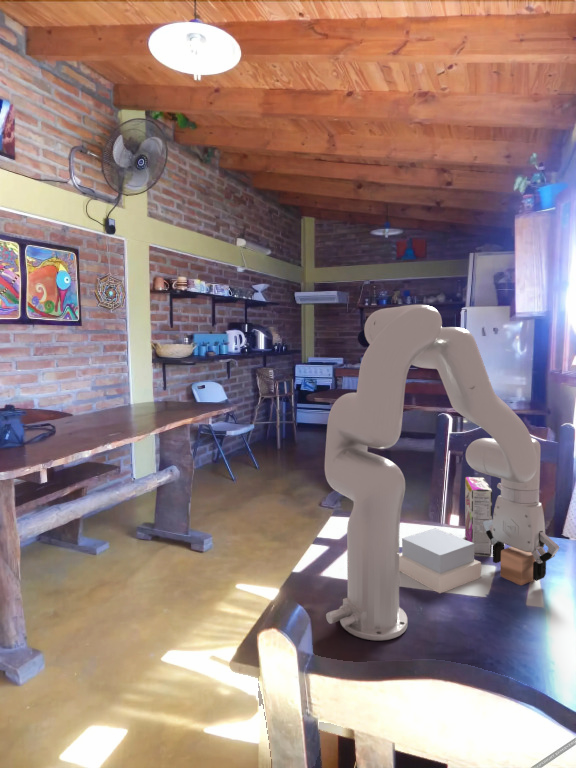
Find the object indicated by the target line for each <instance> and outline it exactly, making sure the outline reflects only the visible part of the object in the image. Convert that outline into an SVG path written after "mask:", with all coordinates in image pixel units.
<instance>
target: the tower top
mask: <svg viewBox="0 0 576 768" xmlns="http://www.w3.org/2000/svg"><path fill="white" fill-rule="evenodd" d="M401 541H402V542H401V545H402V546H401V547H402V548H401V550H402V551H401V553H402V555H403V556H405V557H407V558H409V559H411V560H413V561H415V562H417V563H419V564H421V565H423V566H425V567H427V568H429V569H431V570H433V571H435V572H437V573H439V574H441V573H444V572H446V571H449V570H451V569H454V568H457V567H459V566H462V565H465V564H467V563H470V562H472V561H474V559H475V554H474V543H472V542H469V541H467V539H464V538H462V537H459V536H457V535H454V534H451V533H449V532H446V531H444V530H441V529H439V528H436V527H435V528H431V529H428V530H424V531H421V532H418V533H415V534H412V535H408V536H405V537H402V538H401Z"/></svg>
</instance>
